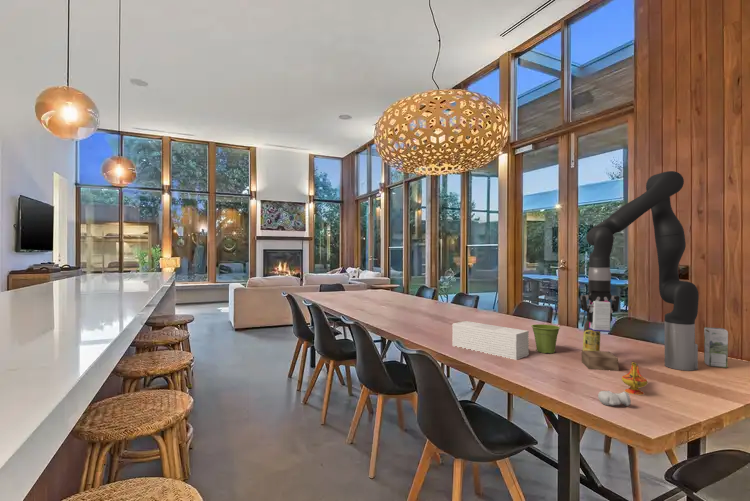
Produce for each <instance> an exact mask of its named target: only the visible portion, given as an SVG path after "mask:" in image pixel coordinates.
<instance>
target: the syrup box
mask: <svg viewBox="0 0 750 501" xmlns="http://www.w3.org/2000/svg"><path fill="white" fill-rule="evenodd" d="M703 330H704V332H703V334H704V335H703V336H704V339H703V341H704V342H703V344H704V346H703V347H704V349H703V350H704V351H703V353H704V355H703V358H704V359H703V362H704V363H705V365H707V366H708V367H714V368H723V369H724V368H725V369H726V368H728V364H729V363H728V361H729V358H728V357H729V355H728V354H729V348H728V347H729V344H728V343H729V331H728V330H727V329H725V328H723V327H706V326H705V327H704V329H703Z"/></svg>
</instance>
